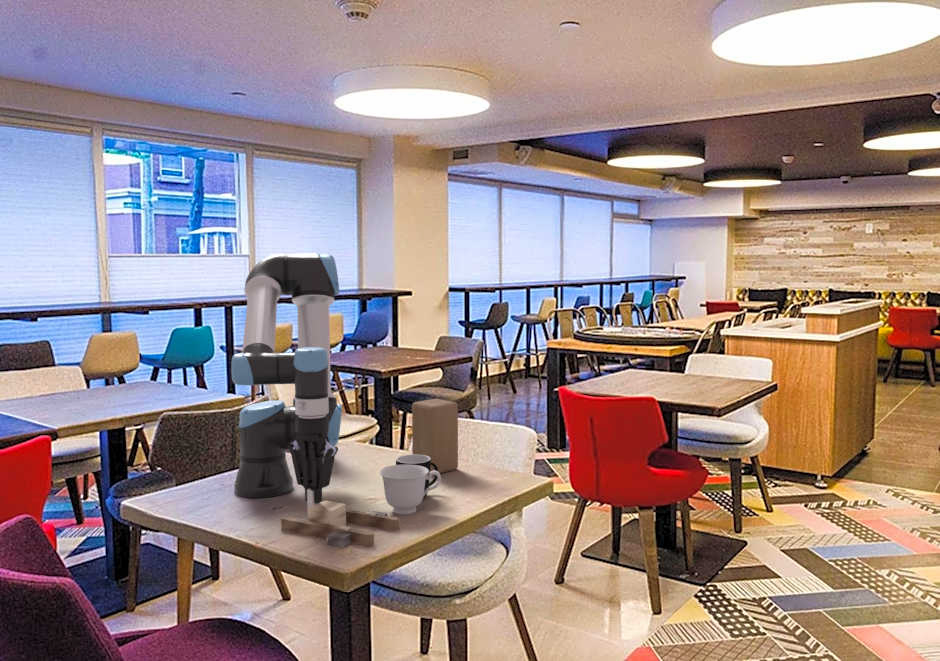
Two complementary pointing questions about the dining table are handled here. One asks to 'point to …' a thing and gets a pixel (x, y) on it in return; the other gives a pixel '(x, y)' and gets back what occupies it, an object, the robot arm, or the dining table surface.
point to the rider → (328, 513)
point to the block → (436, 432)
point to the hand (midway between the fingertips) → (313, 515)
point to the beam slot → (344, 527)
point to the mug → (421, 461)
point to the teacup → (406, 486)
